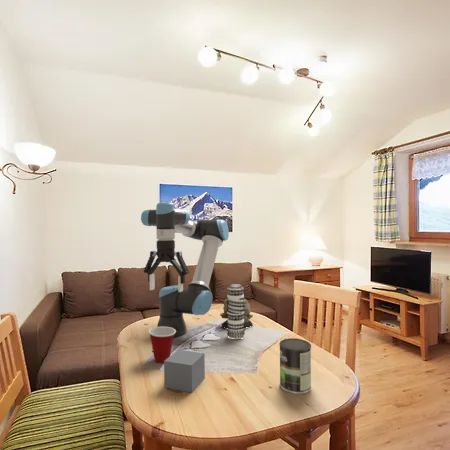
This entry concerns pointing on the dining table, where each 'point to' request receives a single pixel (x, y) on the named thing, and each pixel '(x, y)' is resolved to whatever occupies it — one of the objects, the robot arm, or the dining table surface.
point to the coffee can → (295, 365)
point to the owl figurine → (246, 314)
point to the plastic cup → (161, 342)
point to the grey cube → (184, 370)
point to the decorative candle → (235, 311)
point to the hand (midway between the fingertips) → (166, 290)
